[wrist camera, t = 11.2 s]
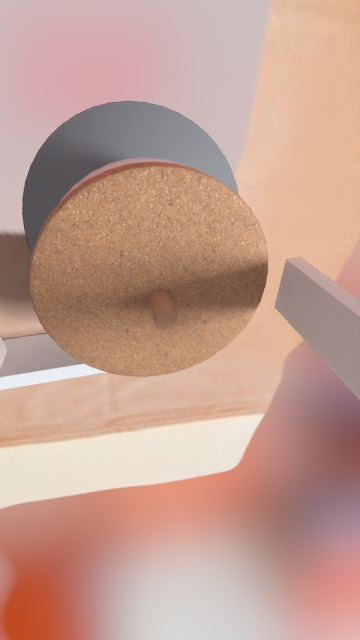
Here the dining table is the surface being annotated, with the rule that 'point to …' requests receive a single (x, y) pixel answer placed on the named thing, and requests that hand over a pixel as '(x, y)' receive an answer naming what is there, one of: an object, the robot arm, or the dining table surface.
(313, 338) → the robot arm
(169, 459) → the dining table surface
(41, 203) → the gray round disc
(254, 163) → the dining table surface
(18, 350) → the low wall
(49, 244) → the lidded jar
